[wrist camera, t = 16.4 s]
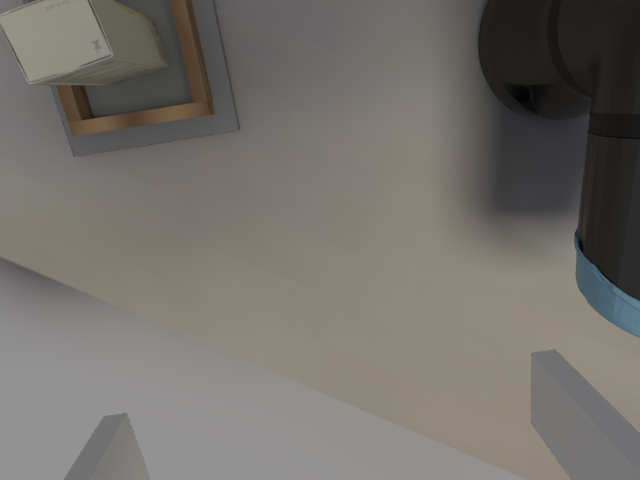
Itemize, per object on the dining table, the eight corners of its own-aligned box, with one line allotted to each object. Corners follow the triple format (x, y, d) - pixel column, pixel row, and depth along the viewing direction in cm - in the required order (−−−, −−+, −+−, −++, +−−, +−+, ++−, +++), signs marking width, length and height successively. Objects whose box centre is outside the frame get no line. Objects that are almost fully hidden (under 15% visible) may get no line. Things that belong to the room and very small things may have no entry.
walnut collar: (183, -37, 36) (174, -47, 34) (215, 113, 40) (210, 114, 38) (39, -14, 36) (21, -22, 34) (86, 134, 40) (72, 136, 38)
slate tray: (201, -61, 37) (198, -65, 36) (240, 129, 42) (238, 130, 41) (18, -31, 37) (11, -35, 36) (78, 155, 42) (73, 156, 41)
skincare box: (153, 16, 37) (85, -21, 26) (173, 69, 39) (117, 56, 27) (86, 38, 38) (-10, 12, 26) (108, 90, 39) (26, 85, 28)
